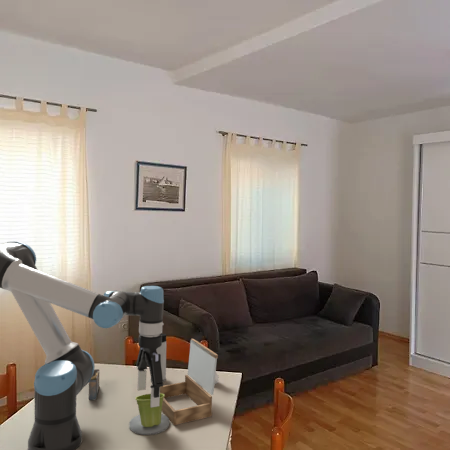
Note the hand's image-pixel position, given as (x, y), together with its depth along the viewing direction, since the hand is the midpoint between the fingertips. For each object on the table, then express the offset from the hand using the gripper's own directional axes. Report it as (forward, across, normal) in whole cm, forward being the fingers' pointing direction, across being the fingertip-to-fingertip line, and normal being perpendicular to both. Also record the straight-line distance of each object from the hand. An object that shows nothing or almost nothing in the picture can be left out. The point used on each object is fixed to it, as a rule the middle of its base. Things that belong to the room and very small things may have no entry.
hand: (147, 397), depth 144 cm
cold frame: (+9, +7, -15) cm, 18 cm away
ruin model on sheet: (+10, +32, +10) cm, 36 cm away
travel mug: (+9, +34, -16) cm, 38 cm away
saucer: (+9, 0, -1) cm, 9 cm away
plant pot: (+7, -4, 0) cm, 8 cm away
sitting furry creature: (+9, +23, -34) cm, 42 cm away
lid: (-6, +7, -22) cm, 24 cm away
